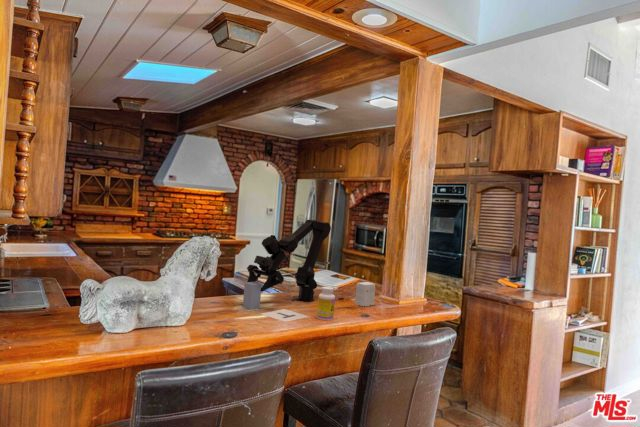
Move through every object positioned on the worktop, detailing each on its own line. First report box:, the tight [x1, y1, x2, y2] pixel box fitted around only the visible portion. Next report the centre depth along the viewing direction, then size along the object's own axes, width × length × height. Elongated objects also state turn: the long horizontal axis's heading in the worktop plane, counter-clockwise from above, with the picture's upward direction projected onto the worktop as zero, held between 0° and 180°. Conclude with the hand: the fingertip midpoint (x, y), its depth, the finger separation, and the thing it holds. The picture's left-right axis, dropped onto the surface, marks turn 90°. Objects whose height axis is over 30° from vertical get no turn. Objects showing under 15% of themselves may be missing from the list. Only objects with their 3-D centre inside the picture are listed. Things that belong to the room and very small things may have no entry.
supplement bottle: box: [316, 286, 336, 321], centre depth 173 cm, size 7×7×13 cm
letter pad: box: [260, 308, 310, 323], centre depth 172 cm, size 14×14×1 cm
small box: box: [354, 281, 376, 308], centre depth 206 cm, size 8×6×10 cm
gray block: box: [242, 281, 263, 311], centre depth 179 cm, size 5×5×11 cm
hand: (253, 289), depth 180 cm, fingers open, 9 cm apart
